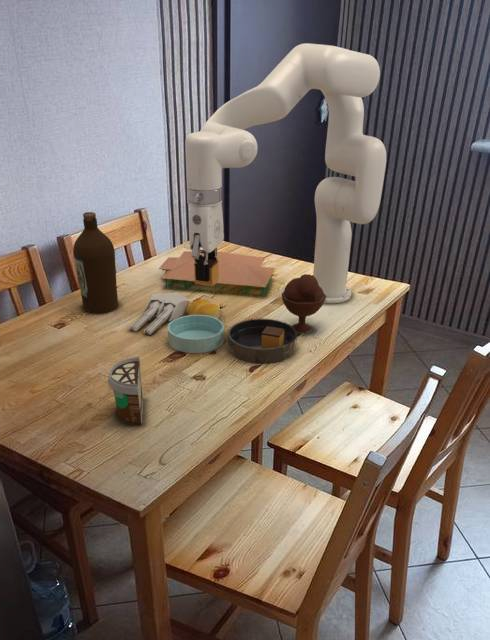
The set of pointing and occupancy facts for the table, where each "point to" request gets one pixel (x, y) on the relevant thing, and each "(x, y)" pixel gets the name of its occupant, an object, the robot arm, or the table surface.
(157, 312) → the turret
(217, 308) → the bread roll
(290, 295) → the ice cream bowl
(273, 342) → the snack cake
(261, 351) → the charcoal bowl
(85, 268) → the olive oil
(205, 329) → the blue bowl
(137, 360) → the food container
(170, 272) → the house
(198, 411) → the table surface
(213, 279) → the snack cake
